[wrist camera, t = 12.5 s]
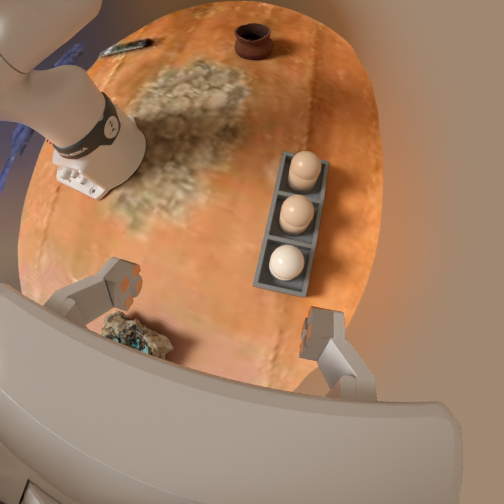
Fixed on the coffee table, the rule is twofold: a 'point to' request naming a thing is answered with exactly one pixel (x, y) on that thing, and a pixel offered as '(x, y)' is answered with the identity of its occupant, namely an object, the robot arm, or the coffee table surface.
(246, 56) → the ceramic pot
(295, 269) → the cream round-topped peg
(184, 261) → the coffee table surface
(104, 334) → the mineral specimen
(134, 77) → the coffee table surface
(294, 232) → the carton
